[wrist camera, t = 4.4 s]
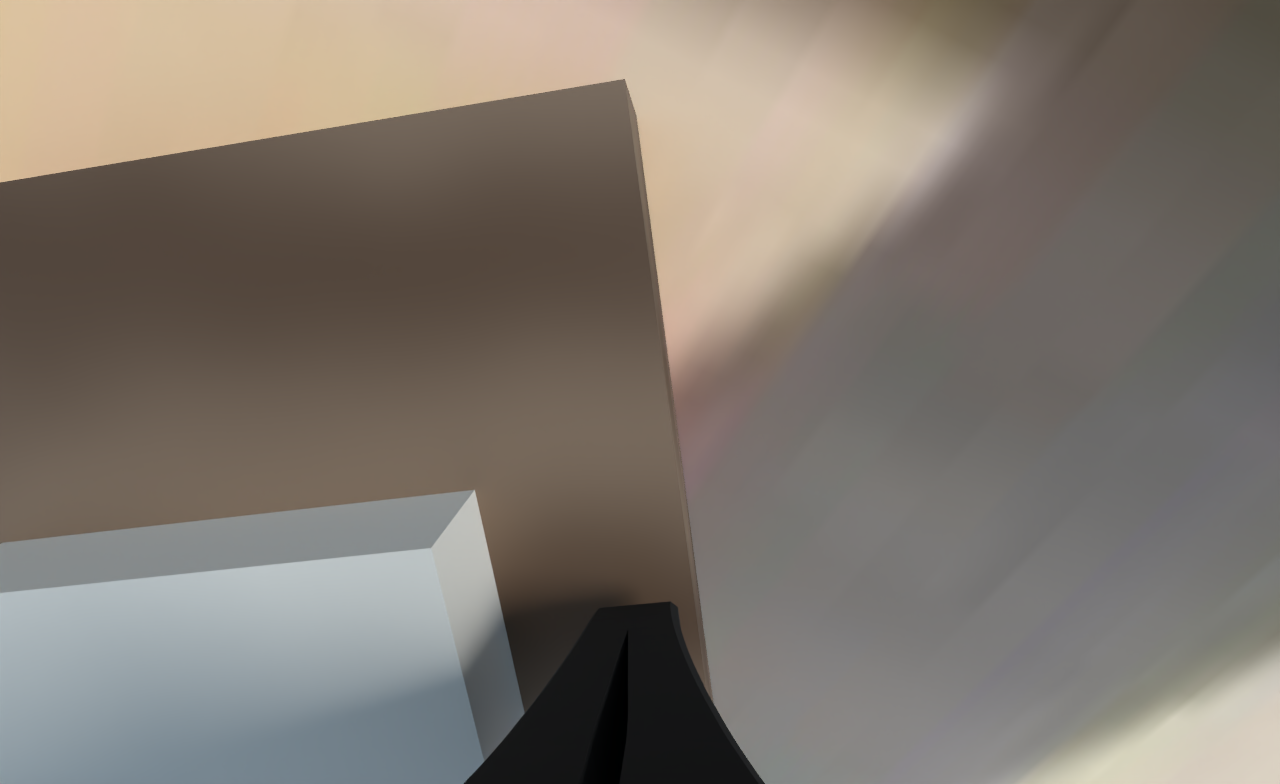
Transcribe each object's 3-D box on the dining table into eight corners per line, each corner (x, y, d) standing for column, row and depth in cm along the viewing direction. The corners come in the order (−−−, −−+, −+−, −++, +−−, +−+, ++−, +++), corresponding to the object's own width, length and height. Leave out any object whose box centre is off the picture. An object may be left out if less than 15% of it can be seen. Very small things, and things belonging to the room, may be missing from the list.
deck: (732, 848, 16) (745, 982, 13) (234, 878, 17) (147, 1008, 15) (636, 115, 12) (624, 79, 9) (-26, 221, 13) (-227, 220, 10)
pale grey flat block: (474, 490, 11) (431, 547, 9) (537, 770, 12) (511, 873, 10) (2, 542, 11) (-134, 607, 9) (116, 800, 13) (18, 901, 11)
